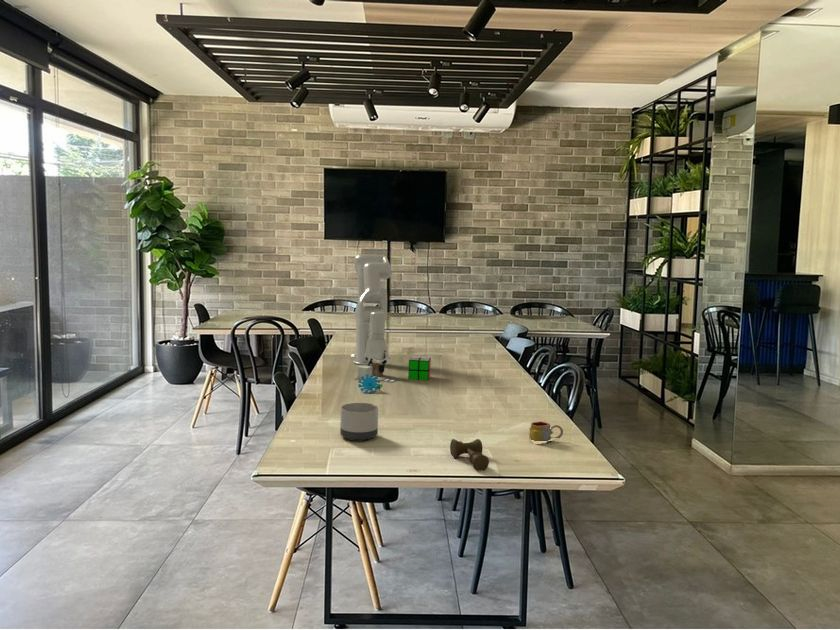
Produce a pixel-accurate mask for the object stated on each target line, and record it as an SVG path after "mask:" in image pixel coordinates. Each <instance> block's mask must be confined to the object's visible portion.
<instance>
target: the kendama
mask: <svg viewBox="0 0 840 630" xmlns="http://www.w3.org/2000/svg"><path fill="white" fill-rule="evenodd" d="M449 451H450V455H452V456H453V457H454V458H453V457H452V456H451V457H452V458H453V459H457V458H458V457H459V456H461V455H463V454H468V456H469V459H468V461H469V462H470V464H471V465H472V468H473V469H474V470H475V471H477V470H483V471H485V470H487V468H488V467H489V465H490V460H489V458H488V457H487V456H486V455H485V454H483V443H482V441H481V439H479V438H477V439H475V440H472V441H471V442H463V441H461V440H456V439H455V438H452V439H451V440H450V444H449ZM456 457H457V458H456ZM484 469H485V470H484Z"/></svg>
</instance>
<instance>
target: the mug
mask: <svg viewBox="0 0 840 630" xmlns="http://www.w3.org/2000/svg"><path fill="white" fill-rule="evenodd" d="M554 428H558V429H559V430H560V432H559V434H558V435H556V436H554V437H552V435H553V434H554V432H553V429H554ZM528 433H529V434H528V435H529V436H528V438H529V440H530V439H531V440H534V441H548V440H550V439H551V438H559V439H560V438H561V437H563V434H564V430H563V428H562V426H560V425H558V424H554V425H552V426H551V423H548V422H545V421H533V422H532V423H530V427H529V432H528Z"/></svg>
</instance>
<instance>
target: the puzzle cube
mask: <svg viewBox="0 0 840 630" xmlns="http://www.w3.org/2000/svg"><path fill="white" fill-rule="evenodd" d="M431 359H432V358H431V357H429V356H410V358H409V360H408V377H407V378H408V380H419V381H429V380H430V377H431V364H432V363H431V361H432V360H431Z"/></svg>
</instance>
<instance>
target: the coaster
mask: <svg viewBox="0 0 840 630" xmlns="http://www.w3.org/2000/svg"><path fill="white" fill-rule="evenodd" d="M379 380H380V382H383V383H384V382H385V383H390V384H392V383H396V382H399V381H401V379H397V378H389V377H385V378H382V379H379Z"/></svg>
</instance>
